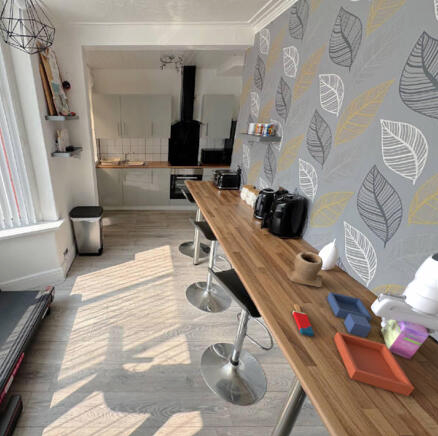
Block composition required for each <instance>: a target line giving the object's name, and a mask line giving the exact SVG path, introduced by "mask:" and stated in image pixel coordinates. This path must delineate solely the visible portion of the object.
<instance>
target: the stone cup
mask: <svg viewBox="0 0 438 436" xmlns="http://www.w3.org/2000/svg"><path fill="white" fill-rule="evenodd" d="M293 265H294V269H288V270H287V271H286V276H287V278H288V279H289V280H290V281H291V282H294V283H297V284H302V285H307V286H311V287H318V288H322V286H323V280H324V276H323V275H322V274H318V273H320V271H322V269H321V268H322V266H323V260H322V258H321V257H320V256H319V254H317V253H315V252H310V251H309V252H307V251H302V252H299V253H297V255H296V256H295V258H294V264H293Z"/></svg>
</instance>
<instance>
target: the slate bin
mask: <svg viewBox="0 0 438 436" xmlns="http://www.w3.org/2000/svg"><path fill="white" fill-rule="evenodd" d="M326 300H327V301H328V304H329V306H330V307H331V309H332V312H333V313H334V315H335V317H337V318H341V319H344V320H346V318H347V316H348V314H349V313H350V314H354V315H358V316H362V317H365V318H366V320H367V321H368V323H369V324H370V323H371V321H372V319H373V316H372V314H371V313H370V312H369V310H368V308H367V307H366V305H365V304H364V303H363V301H362V300H361V298H360V297H359V298H358V297H355V296H354V297H353V296H349V295H345V294H341V293H336V292H331V291H330V292H329V293H328V295H327V298H326Z"/></svg>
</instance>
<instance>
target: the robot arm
mask: <svg viewBox="0 0 438 436" xmlns="http://www.w3.org/2000/svg"><path fill="white" fill-rule="evenodd" d="M370 309H371V311H372V312H373V314H374V315H375V316H376V317H379V318H381V320H382V321H381V323H380V325H381V327H382V328H387V329H389V327H390V326H391V325H390V324H389V323H388V322H387V321H390V319H391V320H395V321H399V322H402V321H406V322H410V323H415V324H419V325H422V326H424V327H425V328H426V330H427V332H428V334H429V335H431V334H433V333H435V332H438V252H436V253H433V254H431V255H430V256H428V257H427V258H425V260H424V261H423V262H422V264H421V265H419V267H418V269H417V270H416V272H415V274H414V279H413V280H412V281H410V282H409V283H408V285H407V286H406V287H405V289H404V291H403V293H401V294H400V293H394V292H391V291H387V292H383V293H380V294H379V295H378V297H377V298H376V300H375V301H373V303H372V304H371V306H370Z"/></svg>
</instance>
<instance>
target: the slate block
mask: <svg viewBox="0 0 438 436" xmlns="http://www.w3.org/2000/svg"><path fill="white" fill-rule="evenodd" d="M343 324H344V326H345V328H346V330H347V332H348V334H349V335H353V336H357V337H361V338H364V339H367V337H368V334H369V333H370V331H371V329H372V328H373V327H372V326H371V324H370V322H369V323H368V321H367V320H366V318H365V317H362V316H358V315H354V314H350V313H349V314H348V316H347V318H346V319H344V322H343Z"/></svg>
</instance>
